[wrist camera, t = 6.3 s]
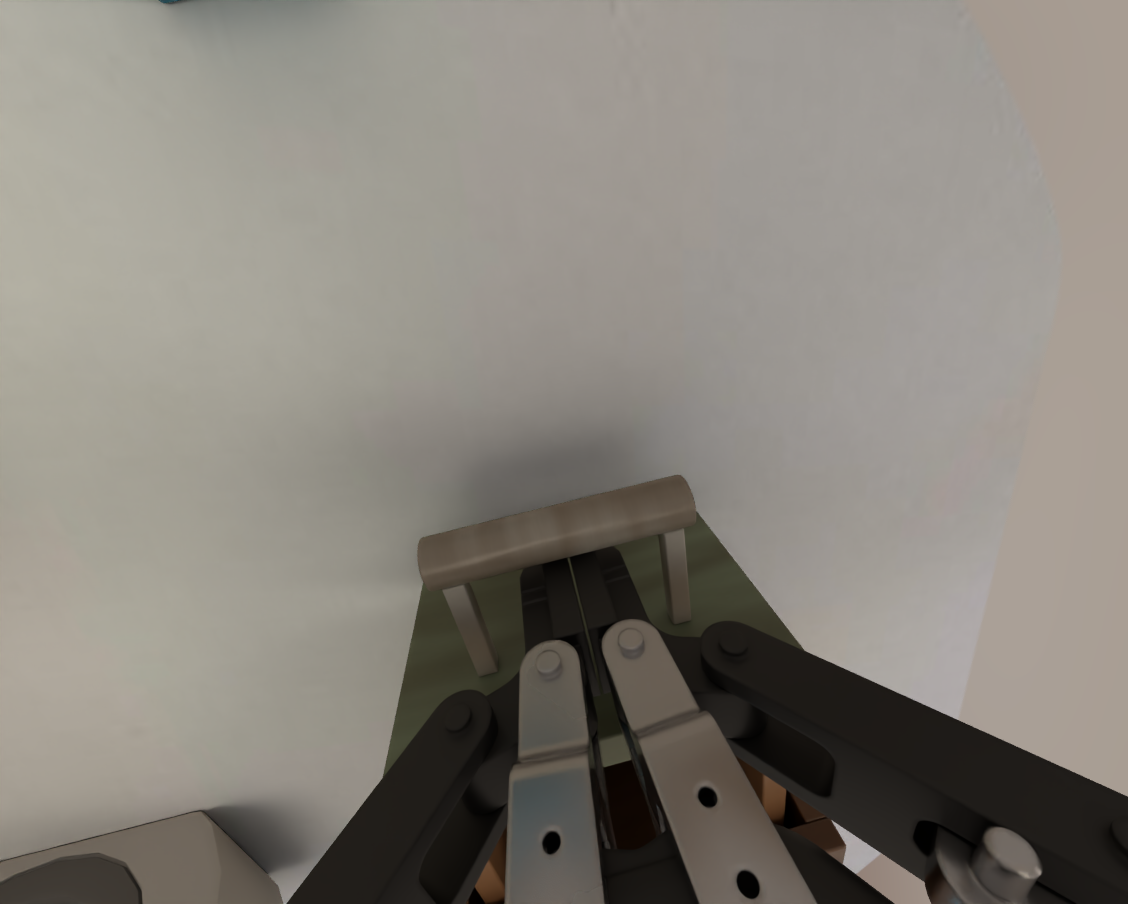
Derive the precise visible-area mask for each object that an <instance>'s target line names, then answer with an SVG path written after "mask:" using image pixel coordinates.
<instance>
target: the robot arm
mask: <svg viewBox="0 0 1128 904" xmlns="http://www.w3.org/2000/svg"><path fill="white" fill-rule="evenodd" d="M569 558H570V562H571V566H572V570H573V574H574V578H575V582H576V586H577V590H578V594H579V598H580V602H581V606H582V610H583V614H584V618H585V622H586V626H587V630H588V634H589V638H590V642H591V646H592V650H593V654H594V658H595V662H596V666H597V670H598V674H599V678H600V682H601V686H602V690H603V694H606V693H610V692H611V693H612V697H613V701H614V704H615V708H616V712H617V716H618V720H619V724H620V728H621V731H622V733H623V736H624V739H625V742H626V745H627V748H628V751H629V754H630V756H631V759H632V762H633V765H634V768H635V771H636V774H637V777H638V779H639V782H640V785H641V788H642V791H643V794H644V797H645V800H646V802H647V805H648V808H649V812H650V815H651V818H652V821H653V825H654V828H655V832H656V835H657V837H656V838H654V839H653V840H652V841H650V842H649V843H647V844H646V845H644V846H643V847H641V848H639V849H635V850H626V849H617V846H616V840H615V836H614V831H613V826H612V820H611V814H610V807H609V800H608V793H607V786H606V779H605V772H604V765H603V758H602V751H601V744H600V738H599V731H598V727H597V726H598V717H597V712H596V707H595V703H594V699H593V697H596V696H600V695H601V693H600V689H599V685H598V681H597V677H596V673H595V668H594V664H593V660H592V656H591V652H590V648H589V644H588V640H587V636H586V631H585V627H584V623H583V619H582V615H581V611H580V607H579V603H578V598H577V594H576V590H575V586H574V582H573V578H572V574H571V570H570V566H569V562H568V558H563V559H559V560H556V561H552V562H548V563H544V564H540V565H536V566H532V567H528V568H524V569H523V571H522V574H521V576H520V590H521V602H522V615H523V627H524V639H525V657H524V658H523V660H522V663H521V666H520V670H519V671H518V673H517V674H516V675H515V676H514V677H513V678H512V679H511V680H510V681H509V682H508V683H506V684H505V685H503V686H502V687H500V688H499V689H497V690H495V691H494V692H492V693H490V694H489V695H487V696H485V695H484V694H483V693H481V692H480V691H477V690H471V689H470V690H462V691H459V692H456V693H454V694H452V695H450V696H449V697H447V698H446V699H445V700H444V701H442V702H441V703H440V704H439V706H438V707H437V708H436V709H435V710H434V712H433V713H432V714H431V716H430V717H429V718H428V720H427V721H426V722H425V723H424V725H423V726H422V727H421V729H420V730H419V731H418V733H417V734H416V735H415V737H414V738H413V739H412V740H411V742H410V743H409V744H408V746H407V747H406V748H405V750H404V751H403V752H402V754H401V755H400V756H399V757H398V759H397V760H396V761H395V763H394V764H393V765H392V767H391V768H390V769H389V770H388V772H387V773H386V774H385V776H384V777H383V778H382V780H381V781H380V782H379V784H378V785H377V786H376V787H375V789H374V790H373V791H372V793H371V794H370V795H369V797H368V798H367V799H366V801H365V802H364V803H363V804H362V806H361V807H360V808H359V810H358V811H357V812H356V814H355V815H354V816H353V817H352V819H351V820H350V821H349V823H348V824H347V825H346V827H345V828H344V829H343V831H342V832H341V833H340V834H339V836H338V837H337V838H336V840H335V841H334V842H333V844H332V845H331V846H330V848H329V849H328V850H327V851H326V853H325V854H324V855H323V857H322V858H321V859H320V861H319V862H318V863H317V864H316V866H315V867H314V868H313V870H312V871H311V872H310V874H309V875H308V876H307V878H306V879H305V880H304V881H303V883H302V884H301V885H300V887H299V888H298V889H297V891H296V892H295V893H294V895H293V896H292V897H291V898H290V900H289V901H288V902H287V904H466V902H467V900H468V899H469V897H470V895H471V893H472V891H473V889H474V887H475V885H476V883H477V881H478V879H479V877H480V876H481V874H482V872H483V870H484V868H485V866H486V864H487V862H488V860H489V858H490V856H491V854H492V853H493V851H494V849H495V847H496V845H497V843H498V841H499V839H500V837H501V835H502V833H503V831H504V830H505V828H506V826H507V848H506V876H505V903H504V904H894V903H893V902H892V901H890V900H889V899H888V898H886V897H885V896H884V895H882V894H881V893H880V892H878V891H877V890H876V889H875V888H873V887H872V886H870V885H869V884H868V883H867V882H865V881H864V880H863V879H861V878H860V877H859V876H857V875H856V874H855V873H853V872H852V871H851V870H849V869H848V868H847V867H846V866H844V865H843V864H842V863H840V862H839V861H838V860H836V859H835V858H834V857H832V856H831V855H830V854H828V853H827V852H826V851H824V850H823V849H822V848H820V847H819V846H818V845H816V844H815V843H813V842H812V841H810V840H808V839H807V838H805V837H803V836H802V835H800V834H798V833H796V832H794V831H792V830H790V829H787V828H785V827H783V826H780V825H777V824H774V823H772V822H771V820H770V818H769V816H768V814H767V813H766V811H765V809H764V807H763V805H762V804H761V802H760V800H759V798H758V796H757V795H756V793H755V791H754V789H753V787H752V786H751V784H750V782H749V780H748V778H747V777H746V775H745V773H744V771H743V770H742V768H741V766H740V764H739V762H738V761H737V759H736V757H735V756H737V757H738V758H740V759H741V760H743V761H744V762H746V763H747V764H749V765H750V766H752V767H753V768H755V769H756V770H758V771H759V772H761V773H762V774H764V775H765V776H767V777H768V778H770V779H771V780H773V781H774V782H776V783H777V784H779V785H780V786H782V787H783V788H785V789H786V790H788V791H789V792H791V793H792V794H794V795H795V796H797V797H798V798H800V799H801V800H803V801H804V802H805V803H807V804H808V805H810V806H811V807H813V808H814V809H816V810H817V811H819V812H820V813H822V814H823V815H825V816H826V817H828V818H829V819H831V820H832V821H834V822H835V823H837V824H838V825H840V826H841V827H843V828H844V829H846V830H847V831H849V832H850V833H852V834H853V835H855V836H856V837H858V838H859V839H861V840H862V841H864V842H865V843H867V844H868V845H870V846H871V847H873V848H874V849H876V850H877V851H879V852H880V853H882V854H883V855H885V856H887V857H888V858H889V859H891V860H892V861H894V862H896V863H897V864H898V865H900V866H901V867H903V868H905V869H906V870H908V871H909V872H910V873H912V874H913V875H915V876H916V877H918V878H919V879H921V880H922V881H924V882H925V887H926V890H927V894H928V897H929V899H930V902H931V904H1128V797H1127V796H1125V795H1123V794H1121V793H1118V792H1116V791H1114V790H1112V789H1110V788H1107V787H1105V786H1103V785H1101V784H1098V783H1096V782H1094V781H1092V780H1090V779H1087V778H1085V777H1083V776H1081V775H1078V774H1076V773H1074V772H1072V771H1070V770H1067V769H1065V768H1063V767H1060V766H1058V765H1056V764H1054V763H1051V762H1050V761H1047V760H1045V759H1043V758H1041V757H1039V756H1036V755H1034V754H1032V753H1030V752H1028V751H1025V750H1023V749H1021V748H1018V747H1016V746H1014V745H1012V744H1010V743H1008V742H1005V741H1003V740H1001V739H998V738H996V737H994V736H992V735H990V734H987V733H985V732H983V731H981V730H979V729H976V728H974V727H972V726H970V725H967V724H965V723H963V722H961V721H959V720H957V719H954V718H952V717H950V716H948V715H946V714H943V713H941V712H939V711H937V710H934V709H932V708H930V707H928V706H926V705H923V704H921V703H919V702H917V701H914V700H912V699H910V698H908V697H906V696H903V695H901V694H899V693H897V692H895V691H892V690H890V689H888V688H886V687H883V686H881V685H879V684H877V683H875V682H872V681H870V680H868V679H866V678H863V677H861V676H859V675H857V674H855V673H852V672H850V671H848V670H846V669H844V668H841V667H839V666H837V665H835V664H832V663H830V662H828V661H826V660H824V659H821V658H819V657H817V656H815V655H813V654H810V653H808V652H806V651H804V650H801V649H799V648H797V647H795V646H793V645H790V644H788V643H786V642H784V641H781V640H779V639H777V638H775V637H773V636H770V635H768V634H766V633H764V632H762V631H759V630H757V629H755V628H753V627H750V626H748V625H746V624H743V623H740V622H736V621H721V622H717V623H714V624H712V625H710V626H709V627H707V628H706V629H705V630H704V632H703V633H702V635H701V637H681V636H674V635H670V634H667V633H665V632H663V631H661V630H659V629H658V628H656V627H655V626H654V625H653V624H652V623H651V621H650V620H649V618H648V616H647V614H646V612H645V609H644V607H643V605H642V602H641V600H640V597H639V595H638V593H637V590H636V588H635V586H634V583H633V581H632V578H631V577H630V574H629V571H628V569H627V567H626V564H625V562H624V560H623V557H622V555H621V552H620V551H619V550H617V549H616V548H615V547H614V546H611V547H607V548H603V549H599V550H595V551H591V552H587V553H583V554H579V555H575V556H571V557H569Z"/></svg>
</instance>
